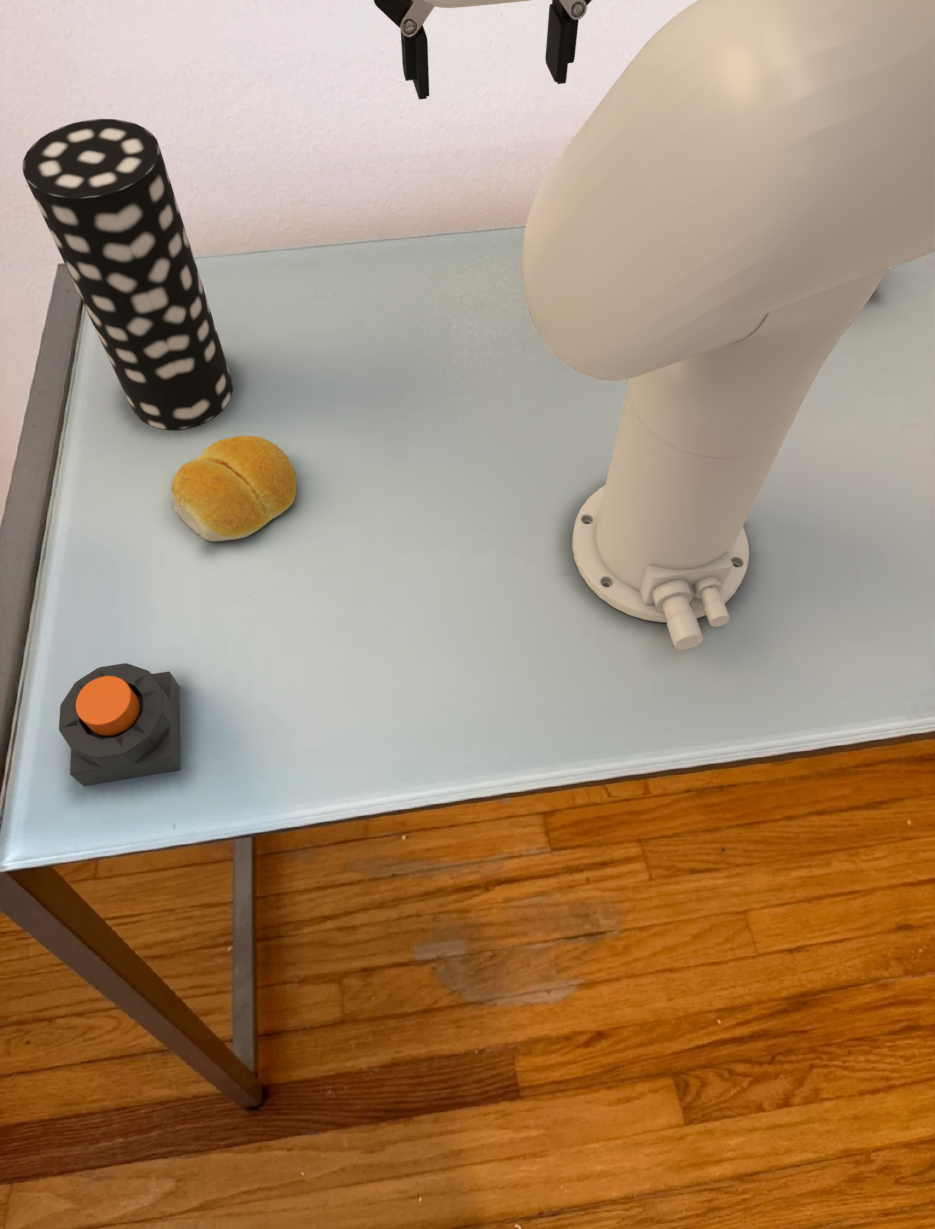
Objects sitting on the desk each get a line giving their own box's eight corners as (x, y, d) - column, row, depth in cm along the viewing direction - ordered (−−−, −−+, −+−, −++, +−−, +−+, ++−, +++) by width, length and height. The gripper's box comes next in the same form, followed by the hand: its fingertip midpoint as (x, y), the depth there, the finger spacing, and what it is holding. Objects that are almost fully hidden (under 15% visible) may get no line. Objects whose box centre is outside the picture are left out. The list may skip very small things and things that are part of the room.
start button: (139, 731, 52) (130, 719, 50) (85, 740, 51) (74, 728, 50) (140, 684, 53) (131, 671, 52) (87, 692, 53) (76, 679, 52)
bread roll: (319, 492, 66) (311, 457, 62) (226, 563, 62) (212, 530, 59) (250, 435, 68) (238, 398, 65) (157, 500, 65) (140, 465, 62)
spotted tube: (249, 368, 72) (183, 132, 55) (204, 440, 68) (117, 210, 51) (160, 346, 73) (67, 109, 56) (111, 416, 69) (-5, 183, 52)
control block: (181, 770, 54) (162, 747, 51) (82, 787, 54) (56, 764, 50) (180, 684, 57) (162, 657, 54) (86, 699, 57) (61, 672, 53)
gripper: (342, -221, 42) (373, 125, 57) (676, -244, 44) (623, 97, 59) (323, -271, 46) (357, 66, 61) (632, -291, 48) (593, 41, 63)
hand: (488, 81), depth 60 cm, fingers open, 9 cm apart
